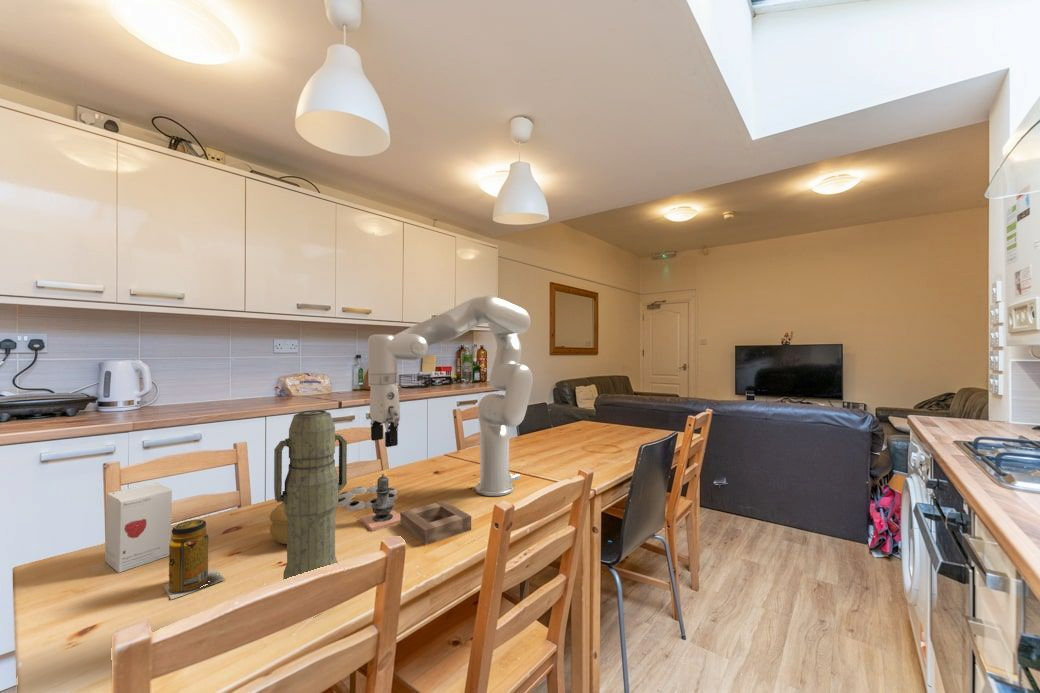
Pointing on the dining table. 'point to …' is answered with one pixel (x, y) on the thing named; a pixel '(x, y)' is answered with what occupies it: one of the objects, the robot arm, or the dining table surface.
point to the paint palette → (359, 490)
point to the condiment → (189, 560)
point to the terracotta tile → (375, 525)
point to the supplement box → (138, 526)
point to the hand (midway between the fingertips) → (384, 442)
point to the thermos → (310, 490)
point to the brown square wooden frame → (435, 522)
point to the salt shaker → (382, 501)
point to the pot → (279, 524)
